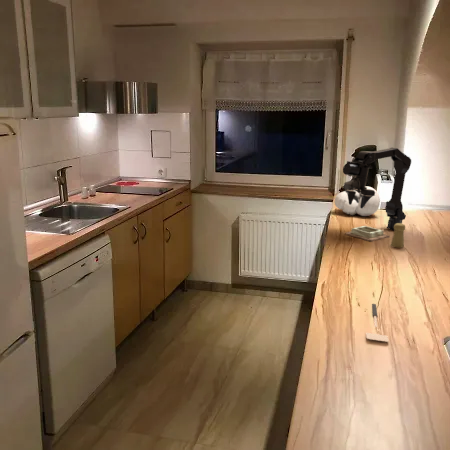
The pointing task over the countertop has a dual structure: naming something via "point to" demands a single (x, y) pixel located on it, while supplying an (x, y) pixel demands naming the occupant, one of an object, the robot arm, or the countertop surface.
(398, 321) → the countertop surface
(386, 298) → the countertop surface
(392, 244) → the cork
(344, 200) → the white lobed sculpture
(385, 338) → the spatula
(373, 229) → the shaker holder
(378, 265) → the countertop surface
